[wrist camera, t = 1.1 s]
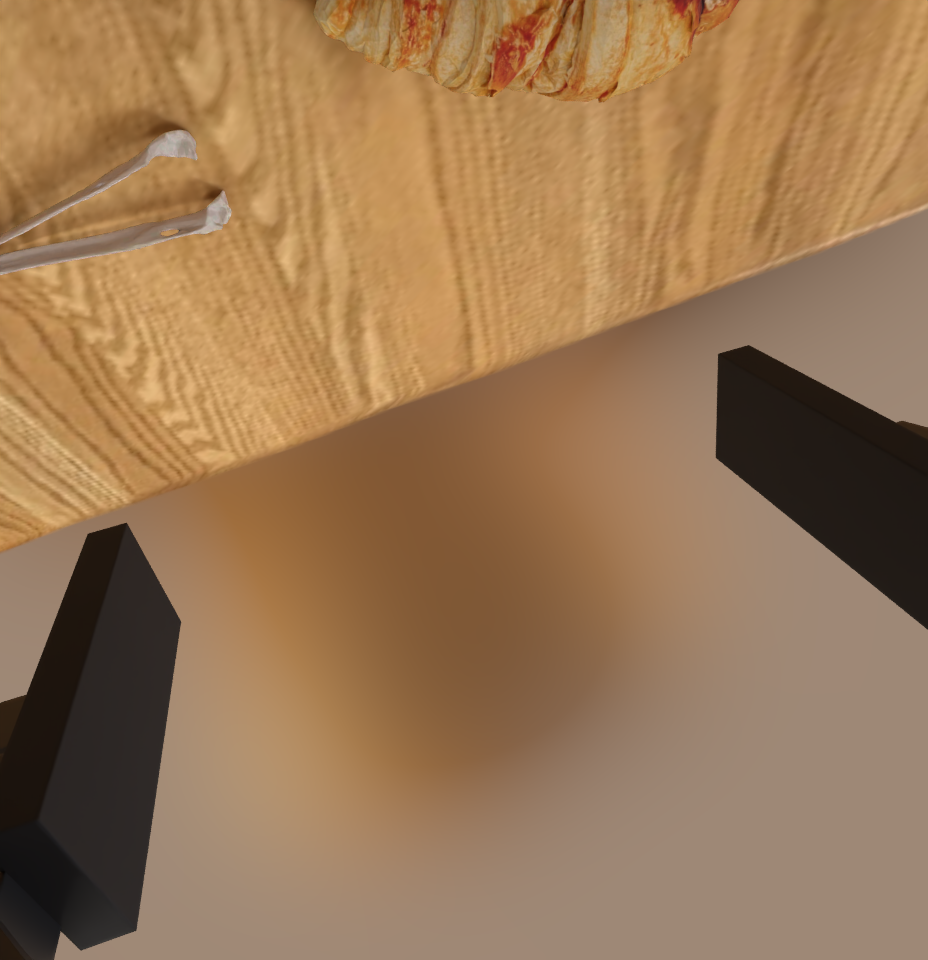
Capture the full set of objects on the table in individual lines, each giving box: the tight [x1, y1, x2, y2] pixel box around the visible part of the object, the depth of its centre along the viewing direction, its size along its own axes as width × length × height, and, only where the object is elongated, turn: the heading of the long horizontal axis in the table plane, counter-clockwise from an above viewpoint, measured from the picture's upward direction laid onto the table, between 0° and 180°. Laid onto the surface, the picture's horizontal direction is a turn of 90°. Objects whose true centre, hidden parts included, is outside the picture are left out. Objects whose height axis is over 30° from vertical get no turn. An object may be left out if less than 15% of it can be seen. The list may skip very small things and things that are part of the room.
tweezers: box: [0, 130, 231, 275], centre depth 30 cm, size 17×5×2 cm, turn 102°
